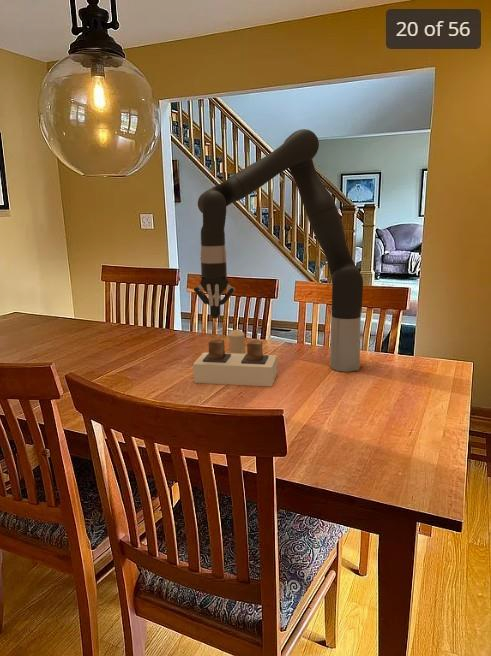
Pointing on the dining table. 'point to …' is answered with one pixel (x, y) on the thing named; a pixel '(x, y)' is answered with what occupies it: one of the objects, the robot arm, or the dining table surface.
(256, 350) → the peg
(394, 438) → the dining table surface
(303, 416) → the dining table surface
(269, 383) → the socket board
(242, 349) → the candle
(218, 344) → the peg
